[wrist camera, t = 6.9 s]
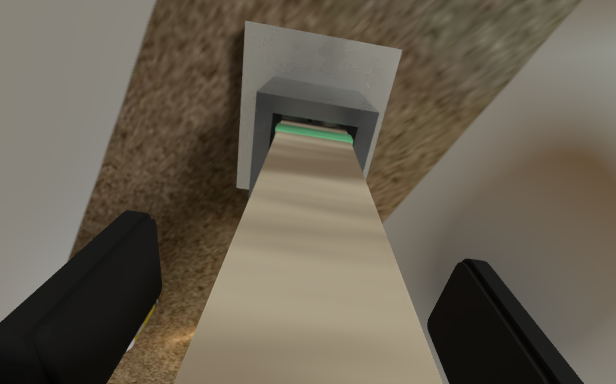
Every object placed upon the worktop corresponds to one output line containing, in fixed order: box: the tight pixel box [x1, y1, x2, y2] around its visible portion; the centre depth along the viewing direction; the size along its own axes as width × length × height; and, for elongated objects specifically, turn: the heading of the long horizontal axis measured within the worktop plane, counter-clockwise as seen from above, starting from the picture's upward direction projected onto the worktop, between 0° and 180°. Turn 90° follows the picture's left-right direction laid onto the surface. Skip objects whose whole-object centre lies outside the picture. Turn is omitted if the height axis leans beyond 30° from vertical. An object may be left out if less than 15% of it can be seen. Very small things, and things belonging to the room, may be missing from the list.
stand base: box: [236, 21, 402, 201], centre depth 22 cm, size 14×12×10 cm
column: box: [174, 119, 443, 384], centre depth 12 cm, size 4×4×16 cm
